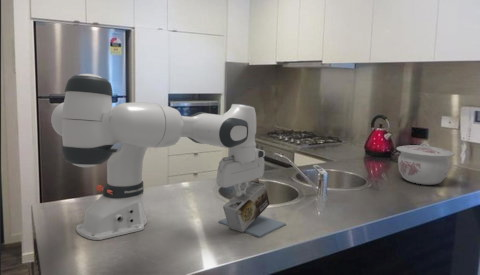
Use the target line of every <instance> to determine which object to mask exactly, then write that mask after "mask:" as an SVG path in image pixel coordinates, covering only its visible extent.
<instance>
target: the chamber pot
mask: <svg viewBox="0 0 480 275" xmlns="http://www.w3.org/2000/svg"><path fill="white" fill-rule="evenodd" d="M396 151H398V152H400V154H399V156H398V159H397V165H398V170H399V173H400V174H401V176H402V178H403V179H404V180H406V181H407V182H409V183H412V184H415V183H416V185H420V184H421V185H423V186H435V185H439V184H440V183H442V182H443V180H445V179H446V177H448V174H449V172H450V170H451V165H452V163H451V161H450V159H449V158H450V157H453V156H456V155H455V152H453V151H452V150H448V149H445V148H441V147H437V146H431V145H430V144H428V143H427V142H423V143H421V144H420V145H419V144H416V145H415V144H412V145H411V144H409V145H402V146H401V145H400V146H397V147H396Z"/></svg>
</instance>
